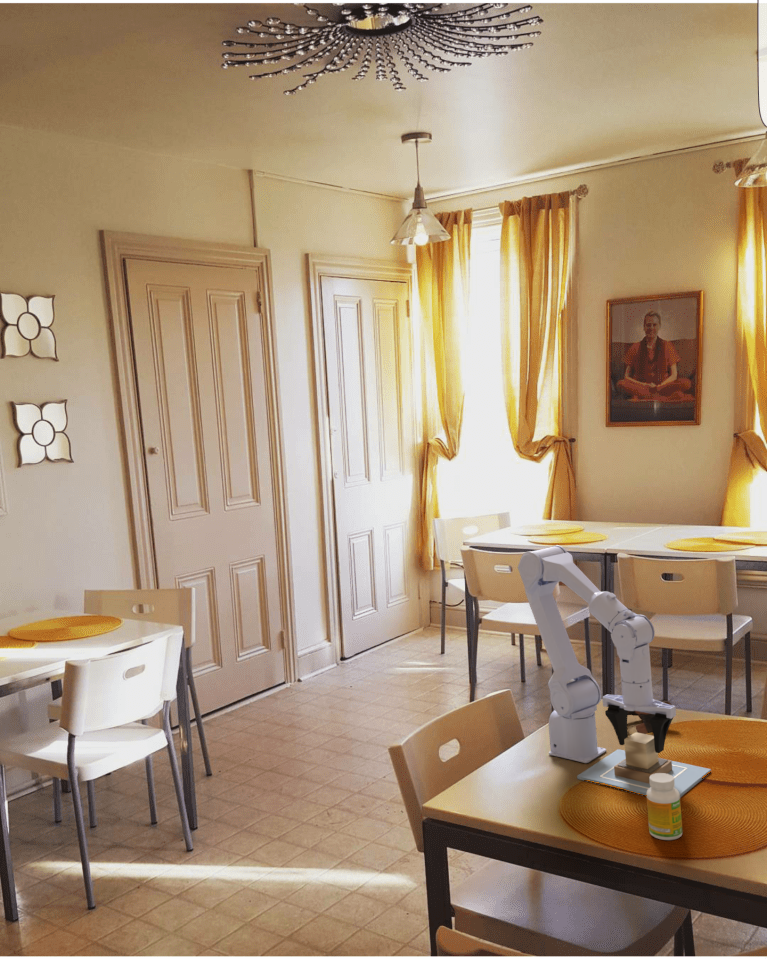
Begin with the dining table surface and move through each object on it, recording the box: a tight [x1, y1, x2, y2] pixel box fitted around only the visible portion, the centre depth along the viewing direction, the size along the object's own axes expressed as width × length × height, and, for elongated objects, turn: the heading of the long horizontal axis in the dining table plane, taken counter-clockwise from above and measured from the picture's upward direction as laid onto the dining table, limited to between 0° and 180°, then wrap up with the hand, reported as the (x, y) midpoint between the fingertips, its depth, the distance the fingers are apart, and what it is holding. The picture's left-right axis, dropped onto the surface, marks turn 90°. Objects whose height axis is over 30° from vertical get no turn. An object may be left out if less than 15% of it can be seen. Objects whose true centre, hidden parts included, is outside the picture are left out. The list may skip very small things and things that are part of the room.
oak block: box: [624, 731, 659, 769], centre depth 169 cm, size 4×4×5 cm
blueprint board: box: [576, 748, 712, 798], centre depth 170 cm, size 20×16×3 cm
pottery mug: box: [627, 700, 673, 735], centre depth 195 cm, size 12×10×8 cm
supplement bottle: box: [646, 773, 683, 841], centre depth 146 cm, size 5×5×10 cm
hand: (641, 747), depth 169 cm, fingers open, 7 cm apart
